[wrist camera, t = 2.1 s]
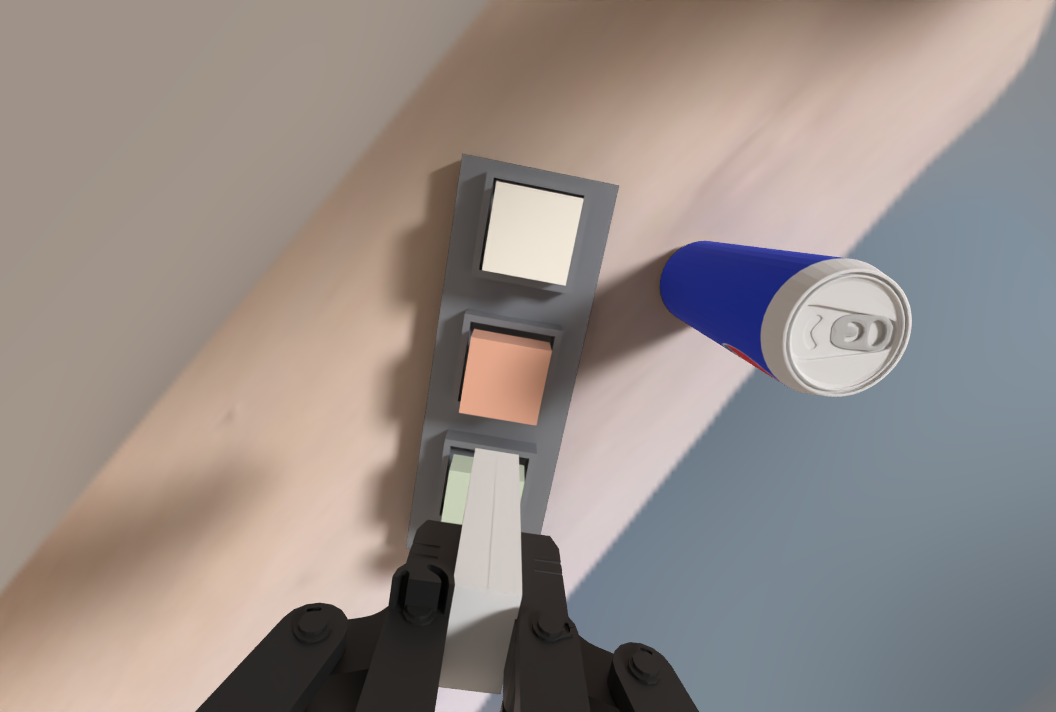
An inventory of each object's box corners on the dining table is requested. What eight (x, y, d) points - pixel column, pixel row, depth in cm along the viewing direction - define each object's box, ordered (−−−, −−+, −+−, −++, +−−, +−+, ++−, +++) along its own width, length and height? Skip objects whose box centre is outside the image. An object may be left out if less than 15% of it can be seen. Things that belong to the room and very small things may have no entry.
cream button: (498, 183, 26) (496, 181, 24) (579, 199, 26) (583, 198, 25) (484, 266, 27) (481, 270, 25) (562, 280, 28) (565, 285, 26)
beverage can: (653, 319, 32) (762, 402, 18) (661, 239, 31) (787, 257, 17) (731, 322, 32) (901, 406, 18) (742, 241, 31) (938, 262, 17)
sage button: (453, 454, 30) (449, 470, 28) (524, 465, 31) (524, 482, 29) (443, 515, 32) (438, 535, 30) (511, 526, 32) (511, 546, 30)
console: (466, 157, 29) (451, 141, 23) (612, 187, 30) (638, 179, 24) (411, 530, 36) (389, 597, 30) (532, 548, 37) (535, 617, 31)
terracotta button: (474, 328, 28) (471, 336, 26) (549, 342, 29) (551, 351, 27) (462, 399, 29) (458, 412, 28) (535, 412, 30) (536, 425, 28)
